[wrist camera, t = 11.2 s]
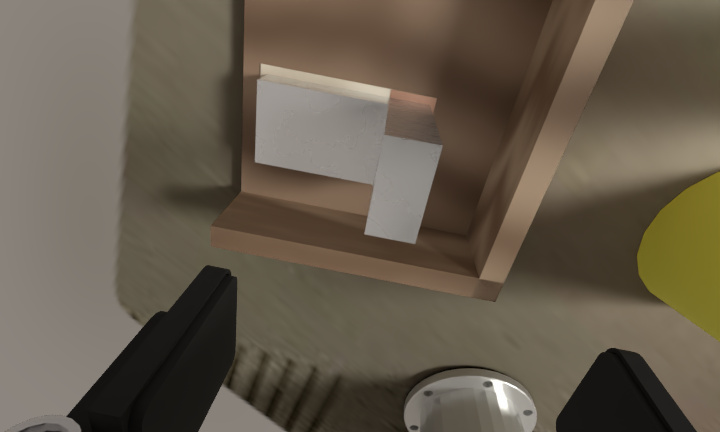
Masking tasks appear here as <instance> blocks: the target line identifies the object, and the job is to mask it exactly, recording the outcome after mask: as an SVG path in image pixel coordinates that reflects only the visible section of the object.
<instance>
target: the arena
mask: <svg viewBox="0 0 720 432" xmlns="http://www.w3.org/2000/svg"><path fill="white" fill-rule="evenodd" d="M633 2H634V0H245V8H244V62H243V117H242V171H241V192H240V193H239V194H238V195H237V197H236V198H235V199H234V200H233V201H232V202H231V203H230V204H229V206H228V207H227V208H226V209H225V210H224V211H223V212H222V213H221V215H220V216H219V217H218V218H217V219H216V220H215V221H214V222H213V224H212V225H211V226H210V227H211V246H212V247H217V248H222V249H227V250H232V251H237V252H243V253H248V254H253V255H258V256H263V257H268V258H273V259H278V260H283V261H289V262H294V263H299V264H304V265H309V266H314V267H319V268H324V269H329V270H335V271H340V272H345V273H350V274H355V275H360V276H365V277H370V278H375V279H381V280H386V281H391V282H396V283H401V284H406V285H411V286H416V287H421V288H426V289H432V290H437V291H442V292H447V293H452V294H457V295H462V296H467V297H472V298H478V299H483V300H488V301H493V302H495V301H496V299H497V297H498V295H499V293H500V290H501V288H502V286H503V284H504V282H505V280H506V277H507V275H508V273H509V271H510V269H511V266H512V264H513V262H514V260H515V258H516V256H517V253H518V251H519V249H520V247H521V245H522V243H523V240H524V238H525V236H526V234H527V232H528V230H529V227H530V225H531V223H532V221H533V219H534V217H535V214H536V212H537V210H538V208H539V206H540V204H541V201H542V199H543V197H544V195H545V193H546V190H547V188H548V186H549V184H550V182H551V180H552V177H553V175H554V173H555V171H556V169H557V167H558V164H559V162H560V160H561V158H562V156H563V154H564V151H565V149H566V147H567V145H568V143H569V141H570V138H571V136H572V134H573V132H574V130H575V127H576V125H577V123H578V121H579V119H580V117H581V114H582V112H583V110H584V108H585V106H586V104H587V101H588V99H589V97H590V95H591V93H592V91H593V88H594V86H595V84H596V82H597V80H598V78H599V75H600V73H601V71H602V69H603V67H604V65H605V62H606V60H607V58H608V56H609V54H610V51H611V49H612V47H613V45H614V43H615V41H616V38H617V36H618V34H619V32H620V30H621V28H622V25H623V23H624V21H625V19H626V17H627V15H628V12H629V10H630V8H631V6H632V4H633ZM268 74H269V75H274V76H279V77H285V78H290V79H295V80H300V81H306V82H311V83H316V84H321V85H327V86H332V87H337V88H343V89H348V90H353V91H358V92H364V93H369V94H374V95H379V96H385V97H390V98H395V99H401V100H406V101H411V102H416V103H422V104H427V105H430V107H431V110H432V113H433V116H434V120H435V123H436V126H437V129H438V132H439V135H440V139H441V142H442V145H443V147H442V150H441V154H440V157H439V161H438V165H437V168H436V172H435V175H434V179H433V182H432V186H431V189H430V193H429V196H428V200H427V203H426V207H425V211H424V214H423V218H422V221H421V225H420V228H419V232H418V235H417V239H416V242H415V244H412V243H407V242H402V241H397V240H391V239H386V238H381V237H376V236H371V235H365V234H364V233H365V227H366V221H367V215H368V209H369V203H370V197H371V191H372V185H371V184H366V183H361V182H356V181H350V180H345V179H340V178H335V177H329V176H324V175H319V174H314V173H308V172H303V171H298V170H293V169H288V168H282V167H277V166H272V165H267V164H261V163H256V162H255V140H256V105H257V79H259V78H261V77H264V76H266V75H268Z"/></svg>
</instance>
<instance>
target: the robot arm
mask: <svg viewBox="0 0 720 432" xmlns="http://www.w3.org/2000/svg"><path fill="white" fill-rule="evenodd" d="M236 310H237V277H234V276H231V271H230V270H229V269H224V268H219V267H214V266H209V265H207V266H205V267H204V268H203V269H202V271H201V272H200V273H199V274H198V276H197V277H196V278H195V279H194V280H193V282H192V283H191V284H190V285H189V287H188V288H187V289H186V290H185V291H184V293H183V294H182V295H181V296H180V297H179V299H178V300H177V301H176V302H175V304H174V305H173V306H172V307H171V308H170V310H169V311H168V312H164V311H160V312H158V313H156V314H155V315H154V316H153V317H152V318H151V319H150V320H149V321H148V322H147V323H146V324H145V326H144V327H143V328H142V329H141V330H140V331H139V333H138V334H137V335H136V336H135V337H134V338H133V340H132V341H131V342H130V343H129V344H128V345H127V347H126V348H125V349H124V350H123V351H122V352H121V354H120V355H119V356H118V357H117V358H116V359H115V361H114V362H113V363H112V364H111V365H110V366H109V368H108V369H107V370H106V371H105V372H104V373H103V374H102V376H101V377H100V378H99V379H98V380H97V382H96V383H95V384H94V385H93V386H92V387H91V389H90V390H89V391H88V392H87V393H86V394H85V396H84V397H83V398H82V399H81V400H80V401H79V403H78V404H77V405H76V406H75V407H74V408H73V409H72V411H71V412H70V413H69V414H68V415H67V416H66V417H65V416H61V415H46V416H41V417H37V418H33V419H29V420H27V421H25V422H22V423H20V424H18V425H16V426H13V427H12V428H10V429H8V430H7V431H5V432H198V431H199V429H200V427H201V425H202V423H203V421H204V419H205V417H206V415H207V413H208V411H209V409H210V407H211V404H212V403H213V401H214V399H215V397H216V395H217V393H218V391H219V389H220V387H221V385H222V383H223V381H224V379H225V377H226V375H227V373H228V371H229V369H230V367H231V365H232V363H233V360H234V356H235V347H236ZM536 420H537V413H536V408H535V405H534V402H533V400H532V397H531V395H530V394H529V392H528V391H527V390H526V389H525V388H524V387H523V386H522V385H521V384H520V383H519V382H517V381H515V380H514V379H512V378H510V377H508V376H506V375H503V374H501V373H498V372H494V371H490V370H485V369H475V368H463V369H454V370H448V371H444V372H441V373H437V374H434V375H432V376H430V377H428V378H426V379H424V380H423V381H421V382H420V383H418V384H417V385H416V386H415V387H414V388H413V389H412V390H411V391H410V392H409V394H408V396H407V398H406V400H405V404H404V421H405V425H406V427H407V429H408V431H409V432H532V431H533V429H534V427H535V425H536ZM556 431H557V432H697V431H696V430H695V429H694V427H693V426H692V425H691V423H690V422H689V420H688V419H687V418H686V416H685V415H684V414H683V412H682V411H681V410H680V408H679V407H678V405H677V404H676V403H675V401H674V400H673V399H672V397H671V396H670V394H669V393H668V392H667V390H666V389H665V388H664V386H663V385H662V383H661V382H660V381H659V379H658V378H657V377H656V375H655V374H654V372H653V371H652V370H651V368H650V367H649V366H648V364H647V363H646V361H645V360H644V359H643V358H642V357H641V355H640V354H638V353H636V352H631V351H626V350H621V349H616V348H610V349H608V350H607V351H606V352H603V353H601V354H600V355H599V356H598V357H597V359H596V360H595V362H594V363H593V365H592V366H591V368H590V369H589V371H588V372H587V374H586V375H585V377H584V378H583V380H582V381H581V383H580V384H579V386H578V387H577V389H576V390H575V392H574V393H573V395H572V396H571V398H570V399H569V401H568V402H567V404H566V405H565V407H564V408H563V410H562V411H561V413H560V414H559V416H558V417H557V420H556Z"/></svg>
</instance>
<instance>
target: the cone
mask: <svg viewBox="0 0 720 432" xmlns="http://www.w3.org/2000/svg"><path fill="white" fill-rule="evenodd" d="M637 262H638V272H639V276H640V278H641V279H642V281H643V283H644V284H645V286H646V287H647V289H648V290H649V292H651V293H652V294H654V295H655V296H656V297H658V298H659V299H661V300H662V301H663V302H665V303H666V304H668V305H669V306H670V307H672V308H673V309H675V310H676V311H677V312H679V313H680V314H682V315H683V316H684V317H686V318H687V319H689V320H690V321H691V322H693V323H694V324H696V325H697V326H698V327H700V328H701V329H703V330H704V331H705V332H707V333H708V334H710V335H711V336H712V337H714V338H715V339H717V340H718V341H719V342H720V171H719V172H717V173H715V174H713V175H711V176H709V177H707V178H705V179H703V180H702V181H700V182H698V183H696V184H694V185H692V186H690V187H688V188H686V189H685V190H684V191H683V192H682V193H680V194H679V195H678V196H677V197H676V198H674V199H673V200H672V201H671V202H670V203H668V204H667V205H666V206H665V207H664V208H662V209H661V210H660V212H659V213H658V214H657V216H656V217H655V219H654V220H653V221H652V223H651V224H650V225H649V227H648V228H647V230H646V231H645V232H644V235H643V238H642V241H641V244H640V247H639V250H638V253H637Z"/></svg>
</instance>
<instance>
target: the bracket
mask: <svg viewBox="0 0 720 432" xmlns="http://www.w3.org/2000/svg"><path fill="white" fill-rule="evenodd" d="M442 147H443V145H442V142H441V139H440V135H439V132H438V129H437V126H436V123H435V120H434V116H433V113H432V110H431V107H430V105H427V104H422V103H416V102H411V101H406V100H401V99H395V98H390V97H385V96H379V95H374V94H369V93H364V92H358V91H353V90H348V89H343V88H337V87H332V86H327V85H321V84H316V83H311V82H306V81H300V80H295V79H290V78H285V77H279V76H274V75H269V74H268V75H266V76H264V77H261V78H259V79H257V105H256V140H255V162H256V163H261V164H267V165H272V166H277V167H282V168H288V169H293V170H298V171H303V172H308V173H314V174H319V175H324V176H329V177H335V178H340V179H345V180H350V181H356V182H361V183H366V184H371V185H372V191H371V197H370V203H369V209H368V215H367V221H366V227H365V233H364V234H365V235H371V236H376V237H381V238H386V239H391V240H397V241H402V242H407V243H412V244H415V242H416V239H417V235H418V232H419V228H420V225H421V221H422V218H423V214H424V211H425V207H426V203H427V200H428V196H429V193H430V189H431V186H432V182H433V179H434V175H435V172H436V168H437V165H438V161H439V157H440V154H441V150H442Z"/></svg>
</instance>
